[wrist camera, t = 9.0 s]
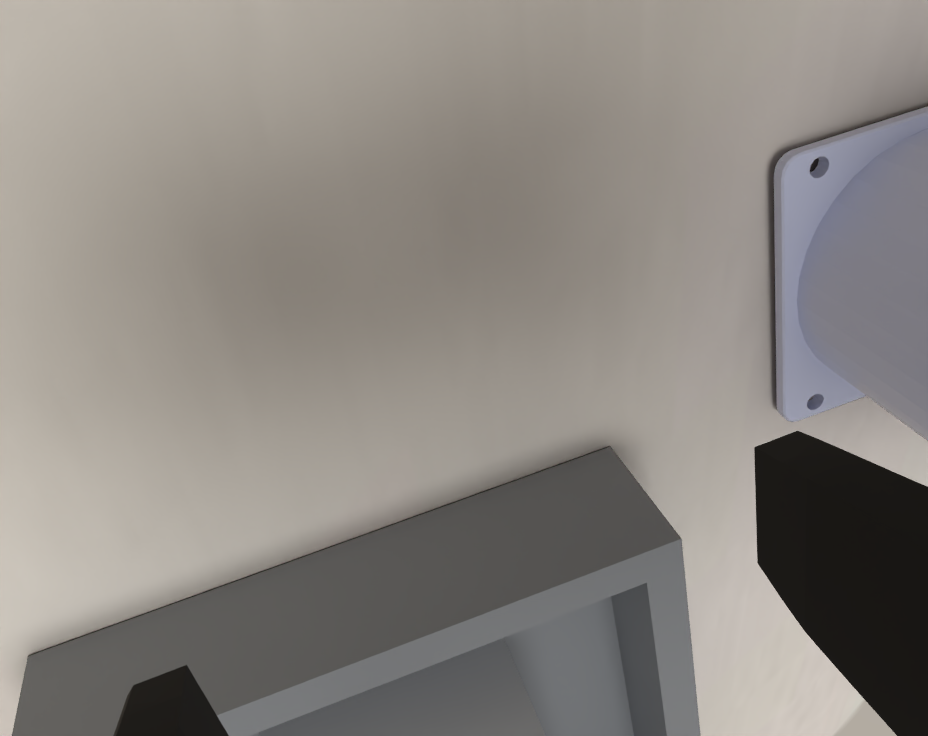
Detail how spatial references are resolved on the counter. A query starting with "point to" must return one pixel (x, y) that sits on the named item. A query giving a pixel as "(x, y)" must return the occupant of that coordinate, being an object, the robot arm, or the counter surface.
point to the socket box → (424, 628)
